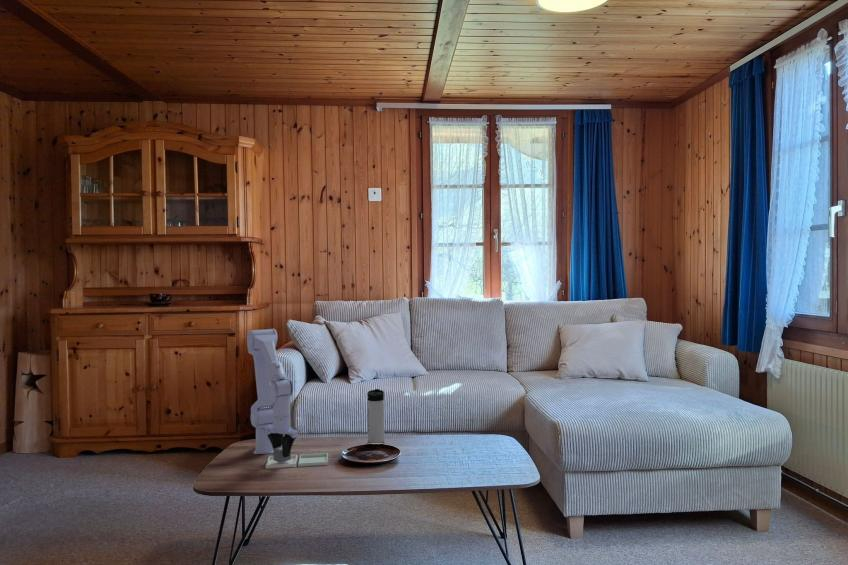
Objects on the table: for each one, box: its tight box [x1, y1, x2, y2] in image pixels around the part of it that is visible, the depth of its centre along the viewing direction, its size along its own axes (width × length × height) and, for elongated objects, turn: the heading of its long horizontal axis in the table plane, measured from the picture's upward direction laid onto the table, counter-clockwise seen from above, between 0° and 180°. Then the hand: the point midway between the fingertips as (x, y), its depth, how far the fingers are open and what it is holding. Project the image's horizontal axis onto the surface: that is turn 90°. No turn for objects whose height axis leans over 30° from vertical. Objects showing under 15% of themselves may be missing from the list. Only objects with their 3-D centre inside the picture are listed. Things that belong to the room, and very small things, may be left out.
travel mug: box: [366, 388, 385, 444], centre depth 211 cm, size 6×7×20 cm
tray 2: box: [297, 452, 329, 468], centre depth 191 cm, size 10×10×1 cm
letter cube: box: [272, 445, 292, 463], centre depth 189 cm, size 4×4×4 cm
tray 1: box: [265, 454, 299, 470], centre depth 189 cm, size 10×10×1 cm
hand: (281, 455), depth 189 cm, fingers closed on letter cube, 4 cm apart
